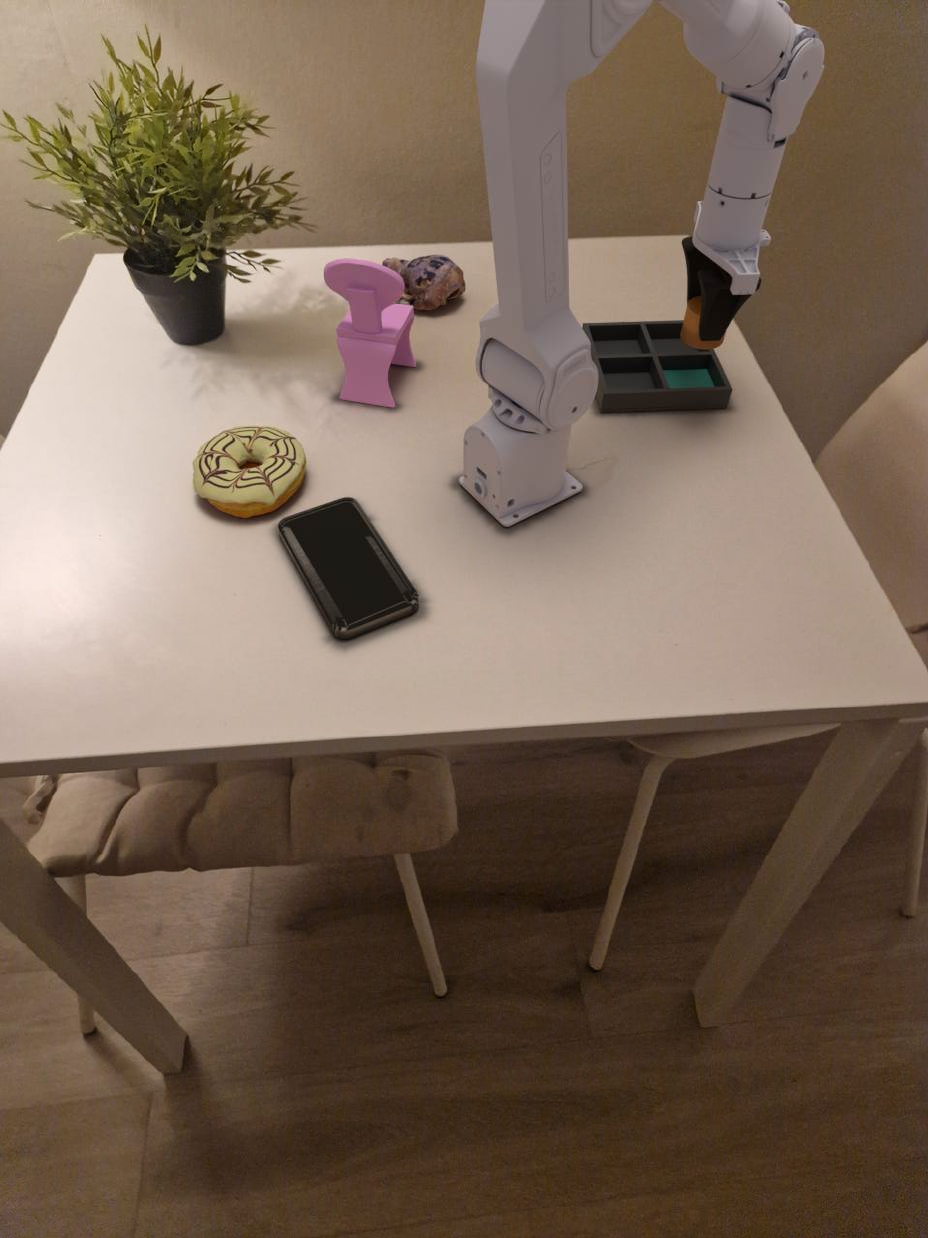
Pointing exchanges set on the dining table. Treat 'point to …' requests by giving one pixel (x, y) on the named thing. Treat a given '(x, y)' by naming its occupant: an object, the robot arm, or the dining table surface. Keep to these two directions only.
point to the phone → (347, 567)
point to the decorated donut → (249, 470)
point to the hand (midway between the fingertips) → (703, 325)
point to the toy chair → (370, 328)
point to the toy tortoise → (428, 280)
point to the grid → (654, 368)
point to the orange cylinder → (695, 327)
